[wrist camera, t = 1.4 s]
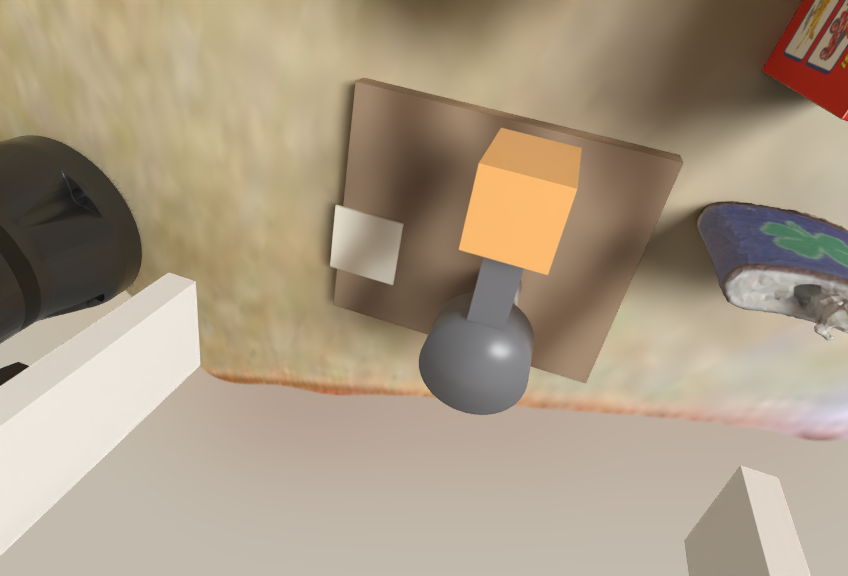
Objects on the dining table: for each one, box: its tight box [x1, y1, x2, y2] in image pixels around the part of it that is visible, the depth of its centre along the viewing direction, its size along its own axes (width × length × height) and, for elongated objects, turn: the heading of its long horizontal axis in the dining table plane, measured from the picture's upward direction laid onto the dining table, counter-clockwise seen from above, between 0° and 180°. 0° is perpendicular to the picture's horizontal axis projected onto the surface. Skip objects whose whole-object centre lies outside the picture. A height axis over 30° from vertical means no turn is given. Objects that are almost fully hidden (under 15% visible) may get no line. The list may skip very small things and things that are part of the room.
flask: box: [697, 201, 848, 340], centre depth 28 cm, size 9×3×11 cm, turn 80°
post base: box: [330, 78, 683, 383], centre depth 35 cm, size 20×17×8 cm
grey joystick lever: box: [419, 128, 582, 415], centre depth 28 cm, size 15×6×6 cm, turn 170°
